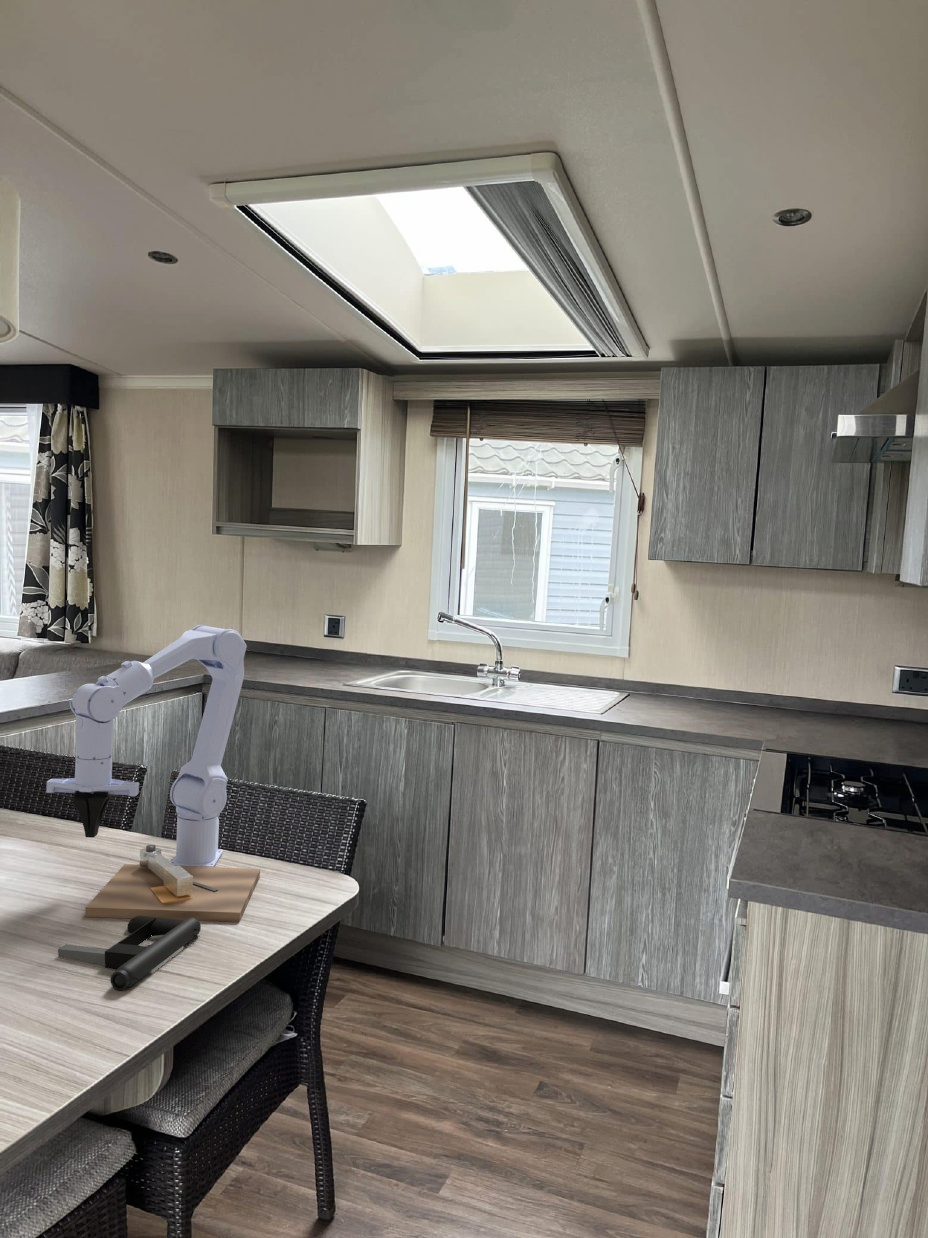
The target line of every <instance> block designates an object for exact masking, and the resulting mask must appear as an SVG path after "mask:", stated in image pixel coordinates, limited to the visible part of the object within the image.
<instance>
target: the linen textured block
mask: <svg viewBox="0 0 928 1238" xmlns="http://www.w3.org/2000/svg"><path fill="white" fill-rule="evenodd" d="M156 846H157V845H155V844H148V845H146V846H145V847H144V848H142V849H140V850H139V862H138V863H139V865H140V866H141V867H143V868H149V869H150V870H151V871H153V872H154V873H155V874H156V875H157V876H158V877H160V878H161V879H162V880H163V881H164V886H165V887H166V888H168V889H169V890H170V891H171V892H172V893H173V894H174V895H176V896H177V897H178V896H183V895H188V894H192V892H193V876H192V875H191V874H189V873H188V872H187V871H186V870H184V869H183V868H182V867H181V866H175V865H173V864H172V863H171V861H170V860H169V859H167V857H165V856H164V855H162V848H161V847H156Z"/></svg>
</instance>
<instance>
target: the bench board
mask: <svg viewBox="0 0 928 1238" xmlns="http://www.w3.org/2000/svg"><path fill="white" fill-rule="evenodd" d="M181 867H182V868H183V869H184V870H186V871H187V872H188V873H189V874H191V875H192V876H193V892H192V894H188V895H183V896H178V897H177V896H176V895H174V894H173V893H172V892H171V891H170V890H169V889H168V888H166V887H165V886H164V881H163V880H162V879H161V878H160V877H158V876H157V875H156V874H155V873H154V872H153V871H151V870H150V869H149V868H143V867H141V866H140V865H139V864H137V863H134V864H133V863H132V864H131V863H124V864H123V865H122V866H121V868H120V869H119V870H118V871H117V872H116V873H115V874H114V875H113V876H112V877H111V878H110V880H109V881H108V882H107V883H106V884H105V885H104V886H103V887H102V888H101V889H100V891H99V892H98V893H97V894H95V896H94V897H93V899H92V900H90V902H89V903H88V904H87V905H86V906H85V907H84V908H85V909H84V910H85V913H84V914H85V915H84V916H85V917H86V918H116V919H132V918H134V917H136V916H147V917H158V918H168V919H179V920H186V919H188V918H195V919H197V920H198V921H203V922H205V921H207V922H208V921H209V922H232V923H233V922H234V923H235V922H236V923H239V922H241V920H242V918H243V915H244V913H245V910H246V908H247V906H248V905H249V903H250V900H251V898H252V896H253V893H254V891H255V890H256V887H257V884H258V882H259V880H260V878H261V868H250V867H249V868H245V867H244V868H243V867H221V866H220V867H218V866H217V867H215V866H214V867H194V866H181Z"/></svg>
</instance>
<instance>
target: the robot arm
mask: <svg viewBox="0 0 928 1238" xmlns="http://www.w3.org/2000/svg"><path fill="white" fill-rule="evenodd" d="M247 647H248V645H247V644H246V642H245V640H244V638H243V637H242V634H240V632H239V631H237V630H235V629H233V628H232V629H230V628H227V629H226V628H219V627H215V626H214V627H213V626H208V625H205V624H197V625H195V626H194V627H192V628H191V629H188V630H186V631H184V632H183V633H182V635H181V636H180V637H179V638H177V639H176V640H174V641H173V642H171V643H170V644H169V645H167V646H166V647H164V648H162V649H161V650H159V652H156V653H155V654H154V655H152V656H151V657H149V658H148V659H147V660H145V661H143V662H142V661H137V660H132V661H129V660H125V661H123V662H122V663H121V664H120V666H121V667H120V668H118V669H116V670H114V671H113V672H111V673H109V674H107V675H106V676H105V675H102V676H100V677H98V678H97V681H96V682H95V683H86V684H83V685H81V686H79V687H78V688H77V689H76V690H75V693H74V694H73V696H72V699H71V700H69V702H68V703H69V707H70V708H69V709H70V710H71V712H72V713H73V714H74V716H75V724H76V730H75V731H76V734H75V736H76V738H75V763H74V764H75V765H74V767H75V768H74V770H75V771H74V778H51V779H48V780H46V794H53V793H69V794H70V793H71V794H73V793H74V797H72V798H71V799H72V803H73V805H74V807H75V809H76V811H77V812H78V815H79V816H80V817H79V818H80V819H81V822H82V826H83V830H84V836H85V838H91V839H92V838H95V837H97V835H99V834H98V833H99V829H100V825H101V822H102V821H101V820H102V818H103V816H104V813H105V811H106V808H107V806H108V804H109V803H110V801H111V799H112V797H113V795H115V796H116V795H118V796H119V795H120V796H129V797H136V796H137V795H138V794H139V792H140V791H139V789H140V782H138V781H136V782H135V781H127V780H122V779H121V780H120V779H114V778H113V776H112V775H113V746H114V745H113V744H114V719H116V718H117V717H118V716H119V715H120V713H121V711H122V708H123V706H125V705H126V704H128V703H130V702H131V701H133V700H135V699H136V698H138V697H140V696H141V695H143V694H145V693H146V692H148V691H149V690H151V689H152V687H153V684H154V681H155V679H157V678H158V677H160V676H162V675H164V674H165V673H168V672H169V671H172V670H174V669H175V668H177V667H179V666H181V665H182V664H185V663H186V662H188V661H191V660H197V661H198V662H199V663H200V664H201V665H202V666H204V667H205V668H206V670H207V671H208V673H209V675H210V676H211V679H212V681H211V683H210V688H209V692H208V696H207V700H206V704H205V707H204V710H203V711H204V712H203V715H202V717H201V723H200V726H199V730H198V733H197V737H196V741H195V745H194V748H193V752H192V756H191V759H190V761H188V762H187V763H185V764H184V765H183V766H181V767H180V770H179V774H178V776H177V777H176V779H175V780H174V781H173V783H172V785H171V787H170V792H169V796H170V797H169V798H170V801H171V803H172V804H173V805H174V806H175V812H176V814H177V815H176V818H177V820H176V821H177V822H176V847H175V856H174V857H173V859H172V860H171V861H170V862H171V863H172V864H173V865H175V866H194V867H215V866H216V864H217V862H218V860H219V859H220V858H221V856H222V854H223V853H224V850H223V849H221V848H220V849H219V833H220V832H219V831H220V828H219V827H220V826H219V825H220V820H219V817H220V814H221V812H222V811H223V810H224V808H225V806H226V804H227V799H228V795H227V784H228V779H229V778H228V777H227V775H226V774H225V771H224V769H223V767H222V763H223V759H224V756H225V750H226V747H227V743H228V739H229V736H230V732H231V729H232V724H233V720H234V716H235V712H236V709H237V706H238V703H239V702H238V701H239V698H240V694H241V690H242V686H243V682H244V679H245V663H244V662H245V661H244V659H245V654H246V651H247Z"/></svg>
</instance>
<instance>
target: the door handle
mask: <svg viewBox="0 0 928 1238" xmlns="http://www.w3.org/2000/svg"><path fill="white" fill-rule="evenodd" d="M201 930H202V926H201V923H200V920H197V919H195V918H188V919H186V920H179V919H168V918H158V917H147V916H136V917H134V918H130V920H129V921H128V923H127V931H128V932H129V933H130V934H129V935H127V936H126V937H124V938H122V939H121V940H120V941H118V942H117V943H115V944H114V945H112V946H111V947H109V948H106V947H105V948H103V947H94V946H83V945H76V944H68V943H67V944H66V943H65V944H64V945H62V946H61V947H59V948H57V953H58V954H57V955H58V958H61V959H68V960H73V961H79V962H84V963H90V964H93V965H94V964H95V965H101V966H104V968H105V969H109V968H110V969H111V970H115V972H113V973H112V974H111V975H110V984H111V987H112V988H113V989H115V990H116V991H123V990H125V989H128V988H131V987H132V986H133V985H135V984H136V983H138V982H139V981H141V979H142V978H144V977H145V976H146V975H148V974H151V973H152V974H155V972H156V971H157V970H159V969H160V968H161V967H162V965H163V966H164V965H165V964H166V963H168V962H169V961H170V960H172V959H173V958H174V957H175V956H177V955H178V954H179V953H180V952H182V951H184V947H185V945H186V944H188V943H189V942H191V941H192V940H194V939H195V938H196V937H198V936H199V934H200V932H201ZM151 935H153V936H151ZM150 936H151V937H150ZM148 937H149V938H150V939H149V938H148ZM147 938H148V939H149V940H150V942H152V943H151V944H150V945H149V946H144V945H142V944H143V943H144V942H145V941H146V939H147ZM148 939H147V940H148ZM144 940H145V941H144ZM143 941H144V942H143ZM139 944H140V945H139ZM176 954H177V955H176ZM172 957H173V958H172ZM171 958H172V959H171ZM168 960H169V961H168ZM167 961H168V962H167ZM158 968H159V969H158ZM110 969H109V970H110Z"/></svg>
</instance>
